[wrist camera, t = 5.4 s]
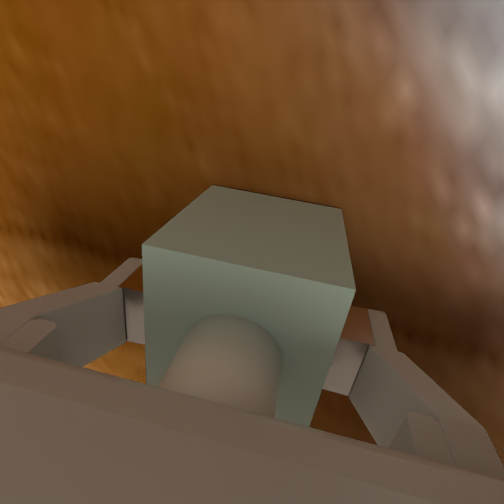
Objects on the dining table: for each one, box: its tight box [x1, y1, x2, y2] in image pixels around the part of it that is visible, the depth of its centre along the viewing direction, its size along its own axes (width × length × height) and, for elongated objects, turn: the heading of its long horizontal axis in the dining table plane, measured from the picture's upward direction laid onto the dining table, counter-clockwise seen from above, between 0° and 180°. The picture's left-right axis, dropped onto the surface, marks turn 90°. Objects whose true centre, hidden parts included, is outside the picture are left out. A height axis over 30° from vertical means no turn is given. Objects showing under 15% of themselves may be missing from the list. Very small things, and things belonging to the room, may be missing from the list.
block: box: [142, 185, 356, 427], centre depth 9 cm, size 5×4×8 cm
